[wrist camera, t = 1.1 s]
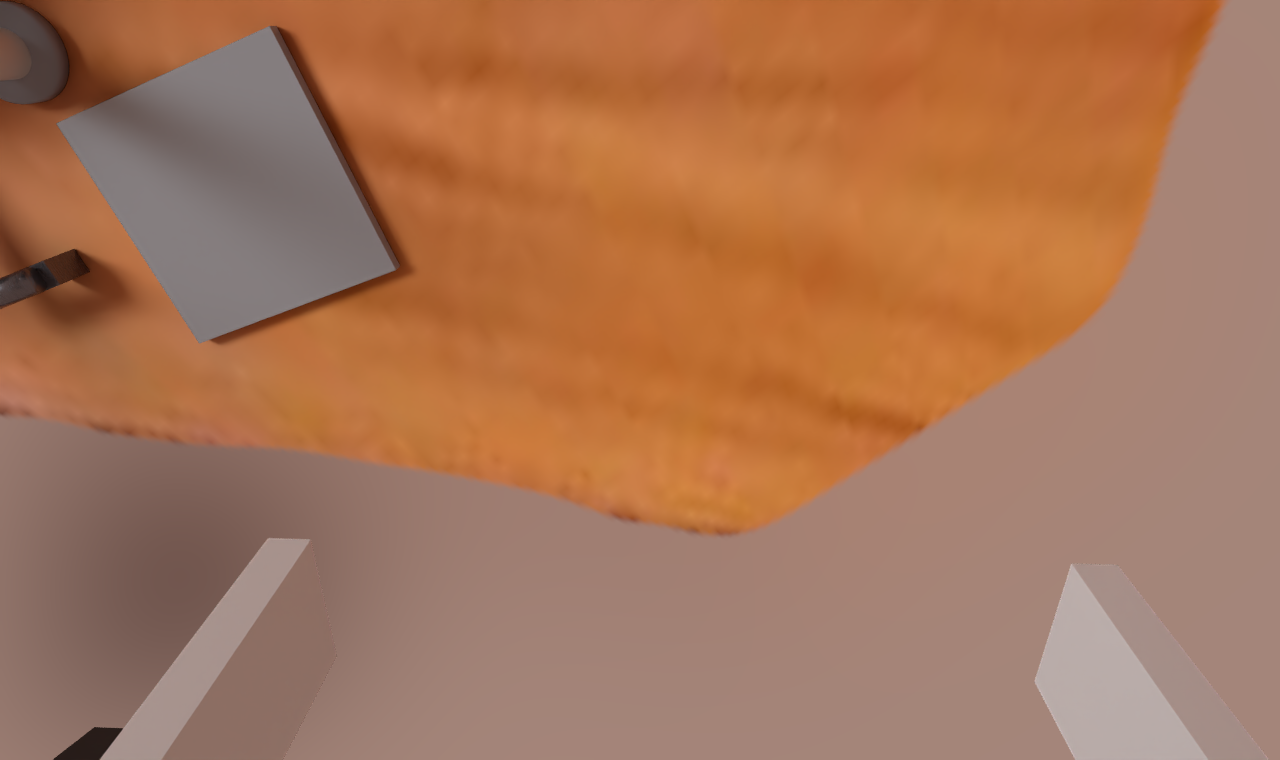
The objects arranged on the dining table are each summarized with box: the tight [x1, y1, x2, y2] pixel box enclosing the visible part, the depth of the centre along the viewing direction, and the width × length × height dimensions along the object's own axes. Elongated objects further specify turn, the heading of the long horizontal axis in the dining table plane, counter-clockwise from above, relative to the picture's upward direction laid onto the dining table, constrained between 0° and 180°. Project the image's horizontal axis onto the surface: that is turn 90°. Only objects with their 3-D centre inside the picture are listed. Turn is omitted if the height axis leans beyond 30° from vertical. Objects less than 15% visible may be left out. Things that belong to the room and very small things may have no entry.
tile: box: [56, 26, 400, 343], centre depth 35 cm, size 11×11×1 cm
